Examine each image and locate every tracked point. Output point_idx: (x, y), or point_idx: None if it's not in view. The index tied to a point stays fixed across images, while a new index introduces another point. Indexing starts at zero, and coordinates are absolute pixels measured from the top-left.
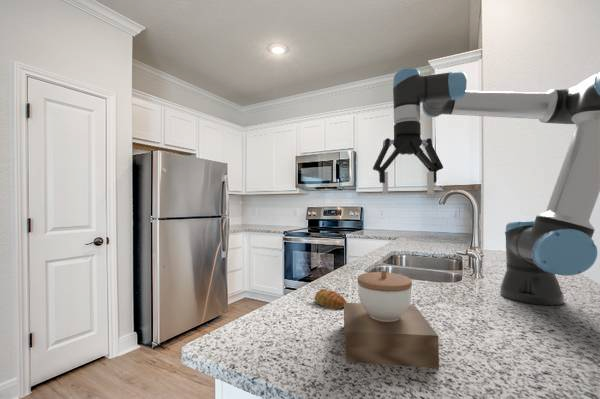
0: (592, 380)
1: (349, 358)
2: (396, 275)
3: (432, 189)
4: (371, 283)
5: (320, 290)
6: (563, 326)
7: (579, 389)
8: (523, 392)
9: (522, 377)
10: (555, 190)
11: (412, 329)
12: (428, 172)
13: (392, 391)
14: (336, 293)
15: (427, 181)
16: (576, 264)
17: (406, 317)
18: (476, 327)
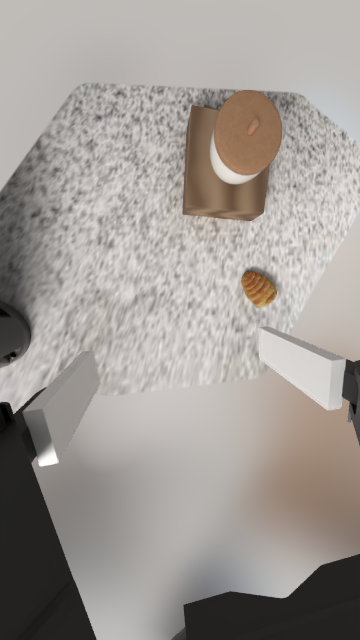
0: (65, 103)
1: None
2: (231, 142)
3: (82, 356)
4: (271, 103)
5: (273, 297)
6: (12, 227)
7: (87, 88)
8: (135, 86)
9: (123, 110)
10: None
11: (211, 123)
12: (54, 440)
13: (233, 92)
14: (255, 290)
15: (81, 413)
16: None
17: (207, 160)
18: (115, 221)
